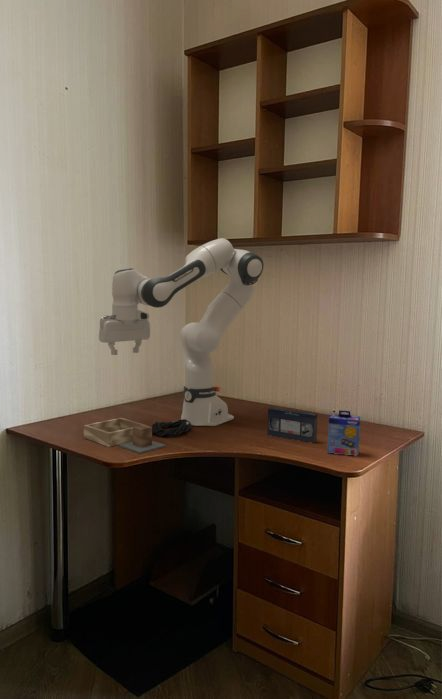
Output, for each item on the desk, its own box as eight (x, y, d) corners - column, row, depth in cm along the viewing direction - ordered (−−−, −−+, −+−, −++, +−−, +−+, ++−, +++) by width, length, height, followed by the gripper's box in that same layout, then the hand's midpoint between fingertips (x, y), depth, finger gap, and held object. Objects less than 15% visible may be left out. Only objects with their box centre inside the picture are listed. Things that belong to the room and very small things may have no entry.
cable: (179, 440, 191) (179, 428, 190) (142, 437, 195) (142, 425, 194) (194, 428, 207) (194, 417, 207) (160, 425, 211) (160, 414, 211)
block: (143, 442, 185) (143, 424, 184) (151, 444, 182) (151, 427, 181) (132, 444, 182) (132, 427, 181) (141, 447, 179) (141, 429, 178)
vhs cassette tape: (266, 435, 198) (267, 408, 197) (271, 433, 200) (271, 407, 199) (313, 444, 188) (314, 415, 186) (316, 442, 190) (317, 414, 189)
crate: (121, 429, 203) (121, 417, 202) (146, 437, 193) (146, 425, 192) (83, 437, 191) (83, 425, 191) (109, 446, 181) (109, 433, 180)
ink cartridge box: (326, 454, 176) (328, 410, 175) (328, 449, 182) (330, 406, 180) (358, 457, 174) (360, 412, 172) (359, 452, 179) (360, 408, 177)
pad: (144, 440, 189) (144, 438, 189) (165, 446, 182) (165, 444, 182) (118, 446, 181) (118, 444, 181) (139, 453, 174) (139, 451, 174)
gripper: (105, 316, 183) (105, 357, 185) (152, 314, 198) (152, 352, 199) (94, 315, 187) (95, 355, 189) (141, 313, 202) (141, 350, 204)
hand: (125, 353), depth 194 cm, fingers open, 8 cm apart
